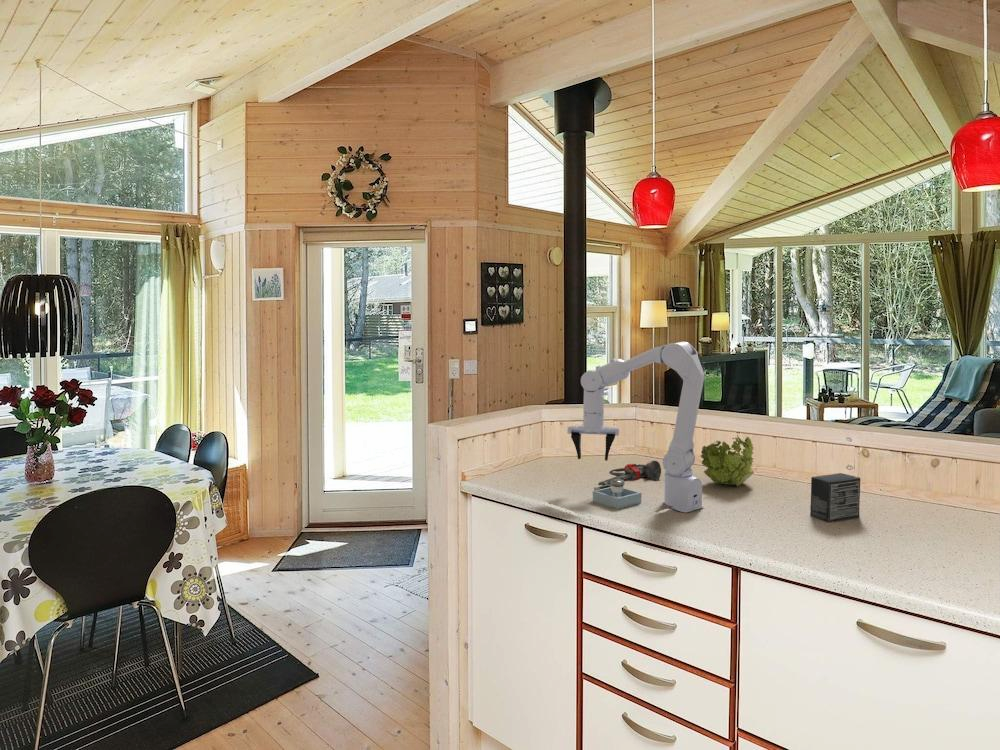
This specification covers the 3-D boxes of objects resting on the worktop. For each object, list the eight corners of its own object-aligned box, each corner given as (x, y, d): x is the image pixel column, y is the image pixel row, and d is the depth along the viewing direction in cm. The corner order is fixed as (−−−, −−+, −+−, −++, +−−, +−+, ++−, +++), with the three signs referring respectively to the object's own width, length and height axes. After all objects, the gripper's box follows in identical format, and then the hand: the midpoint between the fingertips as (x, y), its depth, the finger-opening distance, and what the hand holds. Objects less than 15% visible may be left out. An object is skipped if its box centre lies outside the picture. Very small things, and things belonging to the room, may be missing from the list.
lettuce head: (762, 479, 192) (718, 441, 194) (725, 507, 202) (683, 471, 204) (772, 447, 206) (731, 412, 208) (737, 475, 216) (698, 441, 217)
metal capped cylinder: (626, 502, 184) (627, 481, 184) (618, 505, 182) (618, 483, 181) (615, 499, 187) (616, 478, 187) (607, 502, 185) (607, 480, 184)
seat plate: (623, 495, 193) (623, 488, 193) (608, 499, 190) (608, 492, 189) (607, 490, 198) (607, 484, 198) (593, 494, 194) (593, 487, 194)
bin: (641, 505, 184) (641, 492, 183) (617, 511, 178) (617, 498, 178) (616, 497, 191) (616, 485, 191) (592, 503, 185) (592, 491, 185)
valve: (632, 474, 226) (670, 476, 214) (579, 492, 209) (617, 495, 198) (629, 455, 226) (667, 456, 214) (576, 472, 209) (614, 474, 197)
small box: (839, 511, 178) (841, 471, 177) (860, 518, 172) (862, 477, 171) (808, 515, 174) (810, 475, 173) (828, 523, 168) (830, 481, 167)
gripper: (620, 410, 195) (619, 457, 197) (569, 409, 199) (569, 454, 200) (618, 414, 189) (617, 462, 190) (566, 412, 192) (566, 460, 193)
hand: (592, 459), depth 195 cm, fingers open, 7 cm apart
